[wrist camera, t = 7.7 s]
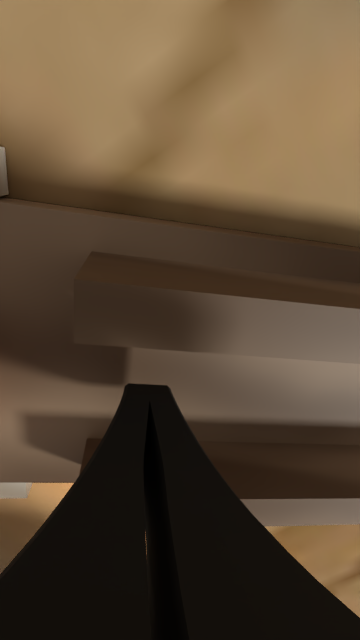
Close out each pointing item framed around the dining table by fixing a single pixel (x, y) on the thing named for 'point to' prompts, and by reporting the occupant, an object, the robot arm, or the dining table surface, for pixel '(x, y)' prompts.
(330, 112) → the dining table surface
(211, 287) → the taupe railed channel
